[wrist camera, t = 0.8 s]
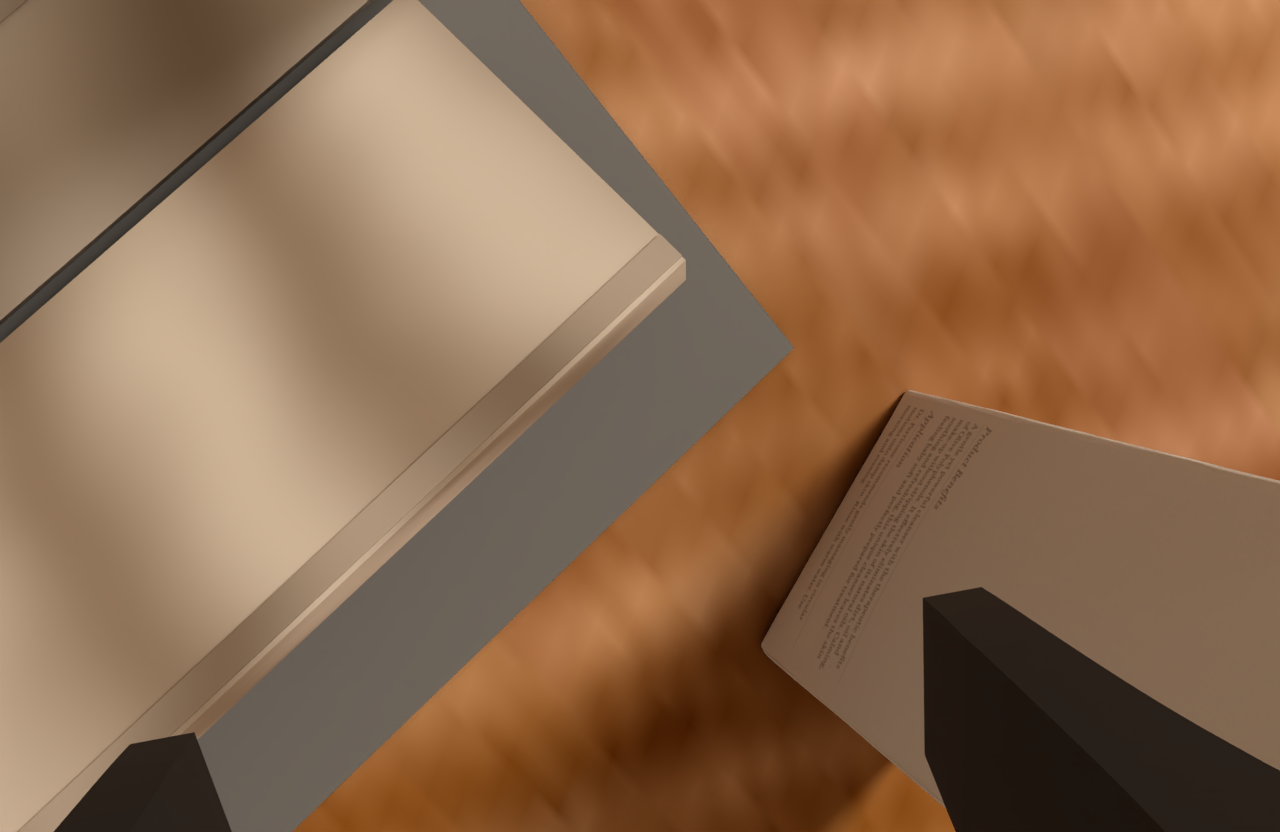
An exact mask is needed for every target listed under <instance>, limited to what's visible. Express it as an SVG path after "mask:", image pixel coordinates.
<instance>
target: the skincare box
mask: <svg viewBox="0 0 1280 832" xmlns="http://www.w3.org/2000/svg"><path fill="white" fill-rule="evenodd" d="M978 587H982V588H984V589H985V590H987V591H989V592H990V593H992V594H993V595H995V596H997V597H998V598H1000V599H1001V600H1003V601H1004V602H1006V603H1007V604H1009V605H1010V606H1012V607H1013V608H1015V609H1016V610H1018V611H1019V612H1021V613H1022V614H1024V615H1025V616H1027V617H1028V618H1030V619H1031V620H1033V621H1034V622H1036V623H1037V624H1039V625H1040V626H1042V627H1043V628H1045V629H1046V630H1048V631H1049V632H1051V633H1052V634H1054V635H1055V636H1057V637H1058V638H1060V639H1061V640H1063V641H1064V642H1066V643H1067V644H1069V645H1070V646H1072V647H1073V648H1075V649H1076V650H1078V651H1079V652H1081V653H1082V654H1084V655H1085V656H1087V657H1088V658H1090V659H1092V660H1093V661H1095V662H1096V663H1098V664H1099V665H1101V666H1102V667H1104V668H1105V669H1107V670H1109V671H1110V672H1112V673H1113V674H1115V675H1116V676H1118V677H1119V678H1121V679H1123V680H1124V681H1126V682H1127V683H1129V684H1131V685H1132V686H1134V687H1135V688H1137V689H1139V690H1140V691H1142V692H1143V693H1145V694H1147V695H1148V696H1150V697H1151V698H1153V699H1155V700H1156V701H1158V702H1160V703H1161V704H1163V705H1165V706H1166V707H1168V708H1170V709H1171V710H1173V711H1175V712H1176V713H1178V714H1180V715H1181V716H1183V717H1185V718H1186V719H1188V720H1190V721H1192V722H1193V723H1195V724H1197V725H1198V726H1200V727H1202V728H1204V729H1205V730H1207V731H1209V732H1211V733H1213V734H1214V735H1216V736H1218V737H1220V738H1222V739H1223V740H1225V741H1227V742H1229V743H1230V744H1232V745H1234V746H1236V747H1238V748H1239V749H1241V750H1243V751H1245V752H1247V753H1248V754H1250V755H1252V756H1254V757H1256V758H1257V759H1259V760H1261V761H1263V762H1265V763H1267V764H1268V765H1270V766H1272V767H1274V768H1276V769H1278V770H1280V481H1278V480H1274V479H1269V478H1265V477H1261V476H1257V475H1253V474H1249V473H1245V472H1241V471H1237V470H1233V469H1229V468H1225V467H1221V466H1217V465H1213V464H1209V463H1206V462H1202V461H1198V460H1194V459H1190V458H1186V457H1182V456H1178V455H1173V454H1169V453H1165V452H1161V451H1157V450H1153V449H1149V448H1145V447H1140V446H1136V445H1132V444H1128V443H1124V442H1120V441H1116V440H1112V439H1108V438H1103V437H1099V436H1096V435H1092V434H1089V433H1084V432H1080V431H1076V430H1072V429H1068V428H1064V427H1060V426H1056V425H1052V424H1048V423H1044V422H1040V421H1036V420H1032V419H1028V418H1024V417H1020V416H1016V415H1012V414H1008V413H1004V412H1000V411H996V410H992V409H987V408H983V407H979V406H975V405H971V404H967V403H963V402H958V401H954V400H950V399H945V398H941V397H938V396H933V395H928V394H924V393H920V392H916V391H912V390H908V391H907V392H905V393H904V395H903V397H902V399H901V400H900V402H899V404H898V406H897V408H896V409H895V411H894V413H893V415H892V416H891V418H890V420H889V422H888V423H887V425H886V427H885V428H884V430H883V432H882V434H881V435H880V437H879V439H878V441H877V442H876V444H875V446H874V447H873V449H872V451H871V453H870V454H869V456H868V458H867V459H866V461H865V463H864V465H863V466H862V468H861V470H860V471H859V473H858V475H857V477H856V478H855V480H854V482H853V484H852V485H851V487H850V489H849V491H848V492H847V494H846V496H845V497H844V499H843V501H842V503H841V504H840V506H839V508H838V510H837V511H836V513H835V515H834V517H833V518H832V520H831V522H830V524H829V525H828V527H827V529H826V530H825V532H824V534H823V536H822V537H821V539H820V541H819V543H818V544H817V546H816V548H815V550H814V551H813V553H812V555H811V556H810V558H809V560H808V562H807V563H806V565H805V567H804V569H803V571H802V572H801V574H800V576H799V578H798V579H797V581H796V583H795V585H794V586H793V588H792V590H791V592H790V593H789V595H788V597H787V599H786V600H785V602H784V604H783V606H782V607H781V609H780V611H779V612H778V614H777V616H776V618H775V620H774V621H773V623H772V625H771V627H770V629H769V630H768V632H767V634H766V636H765V638H764V639H763V641H762V643H761V647H762V649H763V652H764V653H765V654H766V655H767V656H768V657H769V658H770V659H771V660H772V661H773V662H774V663H775V664H777V665H778V666H779V667H780V668H781V669H782V670H784V671H785V672H786V673H787V674H788V675H789V676H791V677H792V678H793V679H794V680H795V681H796V682H798V683H799V684H800V685H801V686H802V687H804V688H805V689H806V690H807V691H808V692H810V693H811V694H812V695H813V696H814V697H816V698H817V699H818V700H819V701H820V702H822V703H823V704H824V705H825V706H826V707H828V708H829V709H830V710H831V711H832V712H834V713H835V714H836V715H837V716H838V717H840V718H841V719H842V720H843V721H844V722H845V723H847V724H848V725H849V726H850V727H851V728H852V729H854V730H855V731H856V732H857V733H858V734H859V735H860V736H862V737H863V738H864V739H865V740H866V741H867V742H869V743H870V744H871V745H872V746H873V747H874V748H875V749H877V750H878V751H879V752H880V753H881V754H882V755H884V756H885V757H886V758H887V759H888V760H889V761H891V762H892V763H893V764H894V765H895V766H897V767H898V768H899V769H900V770H901V771H902V772H904V773H905V774H906V775H907V776H908V777H909V778H911V779H912V780H913V781H914V782H915V783H916V784H918V785H919V786H920V787H921V788H922V789H924V790H925V791H926V792H927V793H928V794H929V795H931V796H932V797H933V798H934V799H935V800H936V801H938V802H939V803H940V804H941V805H942V806H943V807H945V805H944V802H943V800H942V797H941V795H940V792H939V790H938V787H937V785H936V782H935V779H934V777H933V774H932V772H931V769H930V767H929V764H928V762H927V759H926V757H925V750H924V666H923V598H924V597H930V596H935V595H940V594H946V593H951V592H957V591H962V590H968V589H973V588H978ZM945 808H946V807H945Z"/></svg>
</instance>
